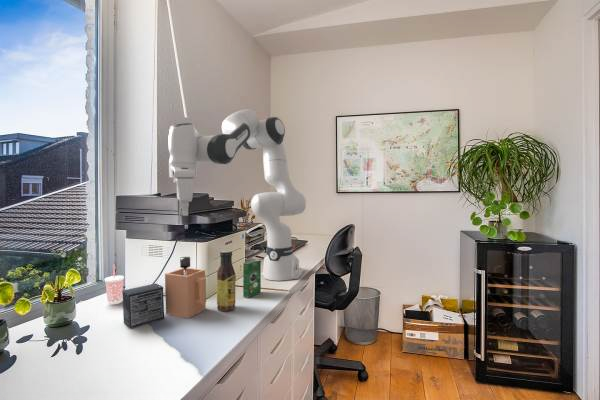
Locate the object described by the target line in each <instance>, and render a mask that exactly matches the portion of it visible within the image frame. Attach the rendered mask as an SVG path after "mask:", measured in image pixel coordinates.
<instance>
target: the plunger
mask: <svg viewBox="0 0 600 400" xmlns="http://www.w3.org/2000/svg"><path fill="white" fill-rule="evenodd" d="M179 267H180V269H181V268H184V276H187V268H191V256H181V257H179Z"/></svg>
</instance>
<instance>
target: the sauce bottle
mask: <svg viewBox="0 0 600 400" xmlns="http://www.w3.org/2000/svg"><path fill="white" fill-rule="evenodd" d="M219 253H220V254H219V256H220V265H219V267H218V268H217V272H216V274H217V275H216V305H217V310H218V311H219V312H229V311H232V310H234V309H235V306H236V272H235V269H234V266H233V261H232V259H233V258H232V256H233V251H232V250H221V251H220V252H219Z"/></svg>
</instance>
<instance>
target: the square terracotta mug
mask: <svg viewBox="0 0 600 400" xmlns="http://www.w3.org/2000/svg"><path fill="white" fill-rule="evenodd" d="M164 284H165V285H164V286H165V287H164V293H165V296H164V297H165V315H168V316H172V317H173V316H174V317H178V318H183V319H189V318H192V317H193V316H194V315H197V314H198V313H201V312H203V311H204V310H206V309H207V306H206V304H207V278H206V269H200V268H193V267H188V268H187V276H184V268H181V267H180V268H179V269H175V270H172V271H170V272H166V273H164Z"/></svg>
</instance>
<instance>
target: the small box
mask: <svg viewBox="0 0 600 400" xmlns="http://www.w3.org/2000/svg"><path fill="white" fill-rule="evenodd" d="M122 294H123V295H122V315H123V317H122V318H123V324H124V325H125V326H126V327H127V328H128V329H134V328H138V327H141V326H145V325H148V324H151V323H153V322H154V323H155V322H156V321H157V322H158V321H162V320H164V319H165V305H164V303H165V302H164V286H162V285H160V284H158V283H156V282H155V283H151V284H146V285H142V286H138V287H133V288H129V289H128V288H127V289H124V290H123V291H122Z"/></svg>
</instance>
